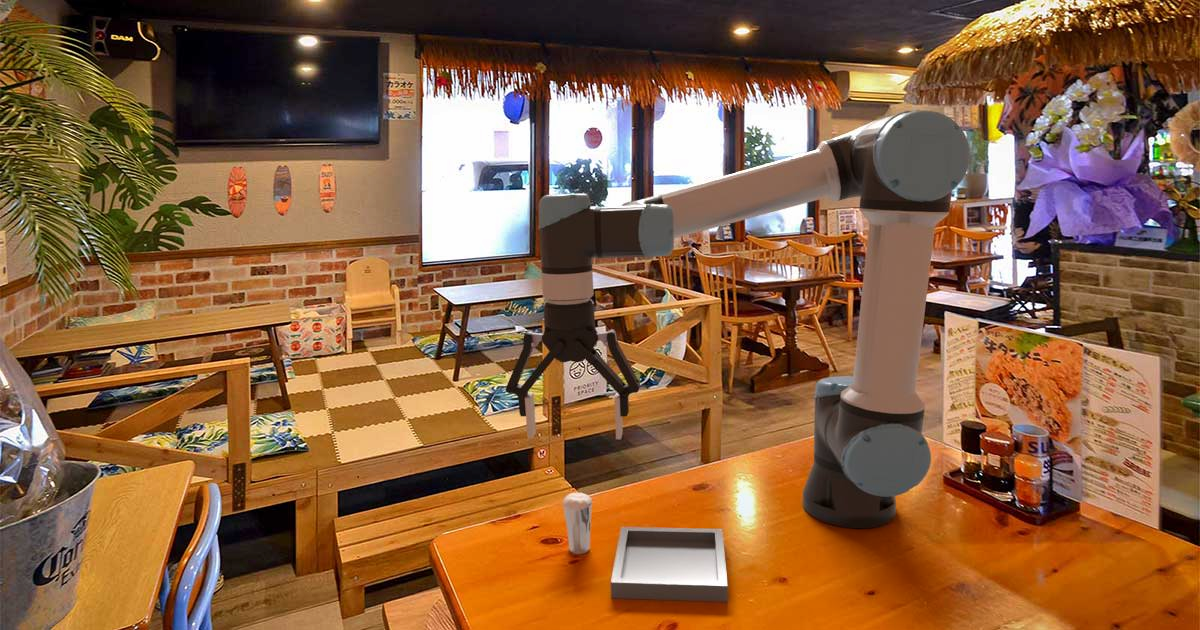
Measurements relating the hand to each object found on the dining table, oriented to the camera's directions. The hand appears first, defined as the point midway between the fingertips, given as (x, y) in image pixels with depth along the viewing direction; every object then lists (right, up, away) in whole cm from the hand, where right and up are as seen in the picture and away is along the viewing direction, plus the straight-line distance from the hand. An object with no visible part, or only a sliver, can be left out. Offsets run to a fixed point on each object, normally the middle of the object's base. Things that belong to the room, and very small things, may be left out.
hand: (575, 436), depth 110 cm
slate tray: (+14, -19, -3) cm, 24 cm away
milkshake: (+1, -19, +3) cm, 19 cm away
